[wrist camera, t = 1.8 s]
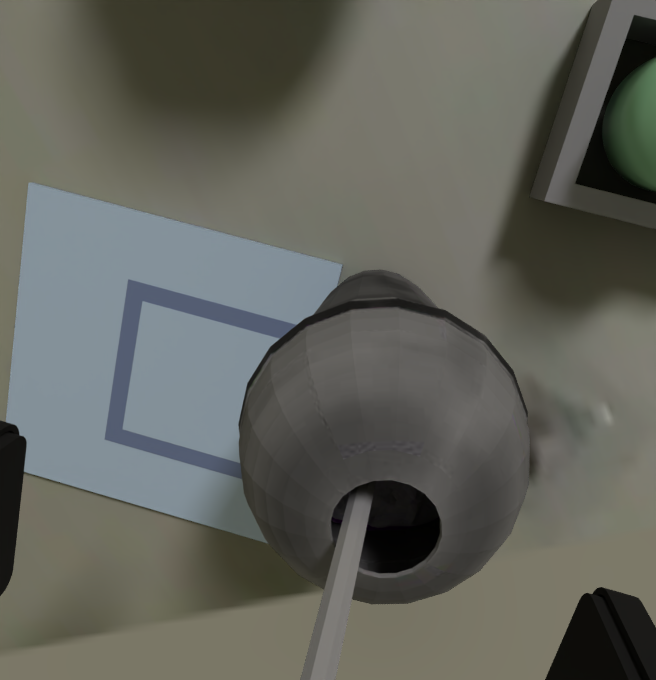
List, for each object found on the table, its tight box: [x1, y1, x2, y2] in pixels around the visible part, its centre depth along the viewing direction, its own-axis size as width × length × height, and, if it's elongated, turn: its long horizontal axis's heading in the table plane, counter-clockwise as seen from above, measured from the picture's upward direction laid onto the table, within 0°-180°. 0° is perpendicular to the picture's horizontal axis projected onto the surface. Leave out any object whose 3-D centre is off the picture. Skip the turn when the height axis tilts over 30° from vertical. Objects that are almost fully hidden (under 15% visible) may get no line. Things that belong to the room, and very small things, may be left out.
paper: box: [6, 183, 343, 544], centre depth 29 cm, size 14×14×1 cm
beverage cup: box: [238, 270, 530, 680], centre depth 17 cm, size 7×7×20 cm
